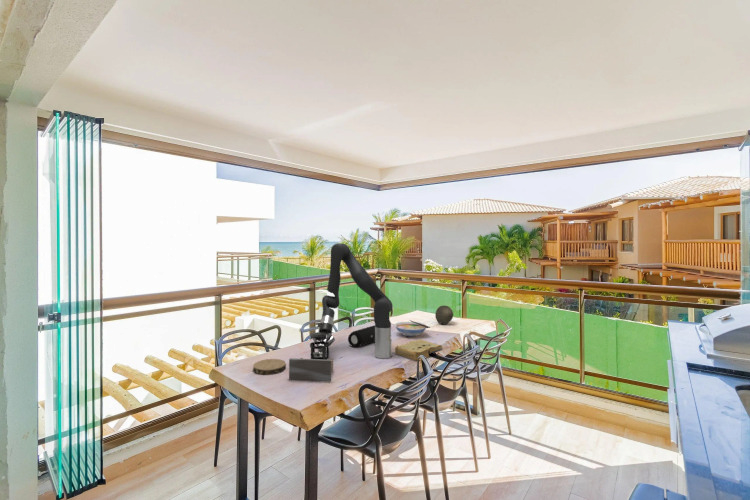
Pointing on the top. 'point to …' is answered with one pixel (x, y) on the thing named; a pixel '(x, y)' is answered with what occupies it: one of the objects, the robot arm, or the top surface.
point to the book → (417, 349)
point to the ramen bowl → (411, 328)
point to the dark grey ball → (444, 314)
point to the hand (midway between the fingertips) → (321, 353)
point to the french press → (319, 355)
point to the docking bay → (310, 369)
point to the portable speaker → (362, 336)
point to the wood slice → (269, 366)
